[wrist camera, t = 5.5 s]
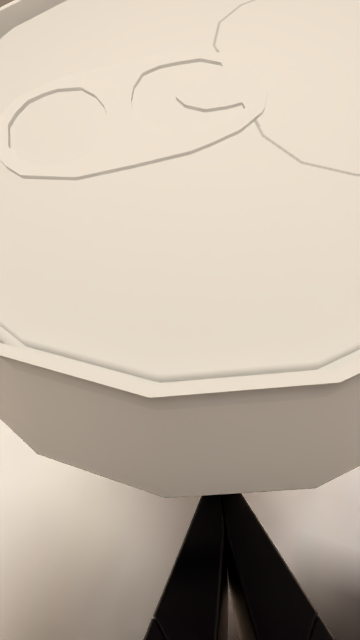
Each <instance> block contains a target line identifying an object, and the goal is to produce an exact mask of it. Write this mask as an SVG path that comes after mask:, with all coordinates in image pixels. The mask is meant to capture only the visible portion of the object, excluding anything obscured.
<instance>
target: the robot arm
mask: <svg viewBox="0 0 360 640" xmlns="http://www.w3.org/2000/svg"><path fill="white" fill-rule="evenodd" d="M227 572H228V574H227ZM228 581H229V589H230V595H231V600H232V605H233V611H234V616H235V621H236V626H237V632H238V637H239V640H335V638H334V637H333V636H332V634H331V632H330V631H329V629H328V628H327V626H326V625H325V623H324V621H323V620H322V618H321V617H320V616H317V615H318V613H317V611H316V609H315V608H314V606H313V605H312V603H311V602H310V600H309V598H308V597H307V595H306V594H305V592H304V591H303V589H302V587H301V586H300V584H299V583H298V581H297V580H296V578H295V577H294V575H293V573H292V572H291V570H290V569H289V567H288V566H287V564H286V563H285V561H284V559H283V558H282V556H281V555H280V553H279V552H278V550H277V548H276V547H275V545H274V544H273V542H272V541H271V539H270V538H269V536H268V534H267V533H266V531H265V530H264V528H263V527H262V525H261V524H260V522H259V520H258V519H257V517H256V516H255V514H254V513H253V511H252V510H251V508H250V506H249V505H248V503H247V502H246V500H245V499H244V497H243V495H242V494H241V493H234V494H219V495H204V496H201V499H200V501H199V504H198V506H197V509H196V511H195V514H194V516H193V519H192V521H191V524H190V526H189V529H188V531H187V533H186V536H185V538H184V541H183V543H182V546H181V548H180V551H179V553H178V556H177V558H176V561H175V563H174V565H173V568H172V570H171V573H170V575H169V578H168V580H167V583H166V585H165V588H164V590H163V593H162V595H161V598H160V600H159V602H158V605H157V607H156V610H155V612H154V615H153V617H154V618H153V619H151V622H150V624H149V627H148V629H147V632H146V634H145V636H144V639H143V640H227V638H228Z"/></svg>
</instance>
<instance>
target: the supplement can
mask: <svg viewBox="0 0 360 640" xmlns="http://www.w3.org/2000/svg"><path fill="white" fill-rule="evenodd" d="M0 419H1V420H2V421H3V422H4V423H5V424H6V425H8V426H9V427H10V428H11V429H12V430H13V431H14V432H15V433H16V434H17V435H18V436H19V437H20V438H21V439H22V440H23V441H24V442H25V443H26V444H28V445H29V446H30V447H31V448H32V449H33V450H34V451H35V452H36V453H37V454H39V455H42V456H45V457H48V458H51V459H54V460H57V461H59V462H62V463H65V464H68V465H71V466H74V467H77V468H80V469H83V470H86V471H89V472H92V473H94V474H97V475H100V476H103V477H106V478H109V479H112V480H115V481H118V482H121V483H124V484H127V485H130V486H132V487H135V488H138V489H141V490H144V491H147V492H150V493H153V494H156V495H159V496H162V497H165V498H173V497H188V496H204V495H219V494H234V493H250V492H265V491H280V490H296V489H311V488H317V487H319V486H321V485H323V484H325V483H327V482H329V481H331V480H333V479H335V478H337V477H339V476H340V475H342V474H344V473H346V472H348V471H350V470H352V469H354V468H356V467H358V466H360V0H15V1H13V2H10V3H8V4H6V5H4V6H2V7H0Z"/></svg>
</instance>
